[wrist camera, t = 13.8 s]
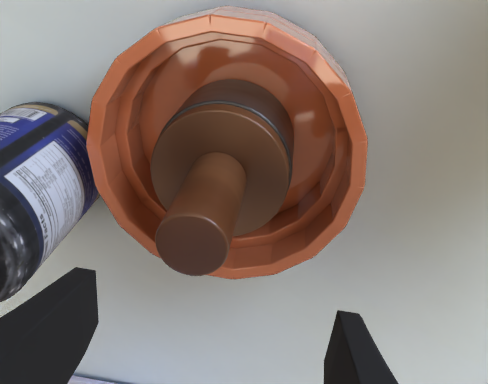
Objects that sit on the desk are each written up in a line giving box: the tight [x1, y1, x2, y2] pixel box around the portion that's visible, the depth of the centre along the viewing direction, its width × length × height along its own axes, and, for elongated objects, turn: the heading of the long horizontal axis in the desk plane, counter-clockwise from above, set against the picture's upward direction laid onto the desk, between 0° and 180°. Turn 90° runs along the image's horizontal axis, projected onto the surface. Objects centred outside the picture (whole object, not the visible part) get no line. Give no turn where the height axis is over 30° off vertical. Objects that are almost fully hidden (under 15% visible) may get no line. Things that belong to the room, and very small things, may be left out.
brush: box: [150, 79, 294, 276], centre depth 17 cm, size 6×6×9 cm
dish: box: [86, 6, 368, 279], centre depth 20 cm, size 11×11×4 cm
